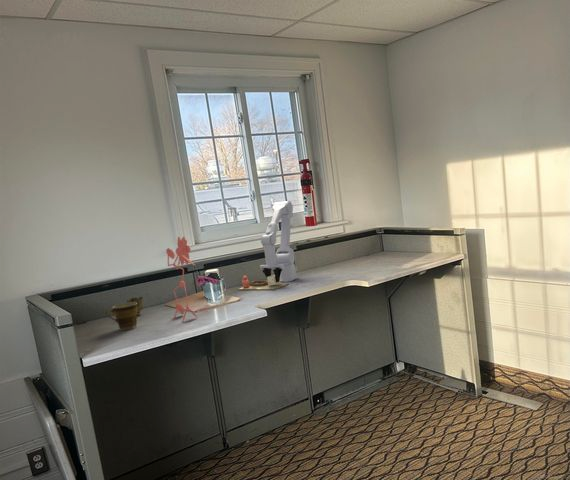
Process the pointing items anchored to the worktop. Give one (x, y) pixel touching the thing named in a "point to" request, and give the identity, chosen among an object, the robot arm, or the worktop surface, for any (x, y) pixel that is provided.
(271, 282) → the die
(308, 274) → the worktop surface
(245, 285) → the pawn
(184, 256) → the figurine
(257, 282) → the board
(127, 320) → the ceramic cup
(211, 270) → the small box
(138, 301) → the cup
